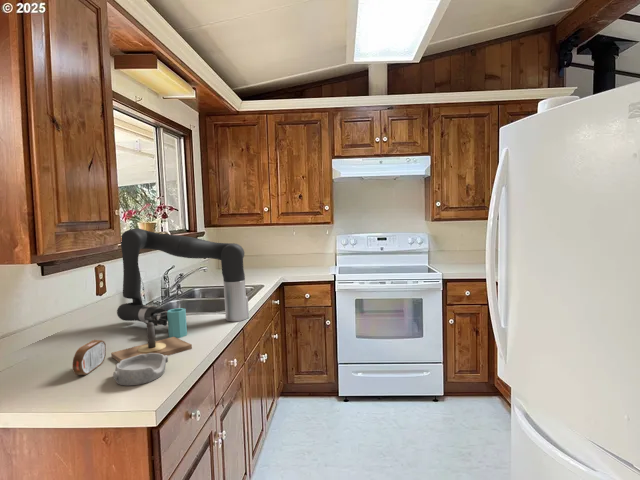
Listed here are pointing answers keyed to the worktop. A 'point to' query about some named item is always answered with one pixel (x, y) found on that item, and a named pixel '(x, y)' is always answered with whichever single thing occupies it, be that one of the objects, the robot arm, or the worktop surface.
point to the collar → (177, 322)
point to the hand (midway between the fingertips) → (175, 320)
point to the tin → (89, 357)
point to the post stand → (153, 346)
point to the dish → (140, 369)
